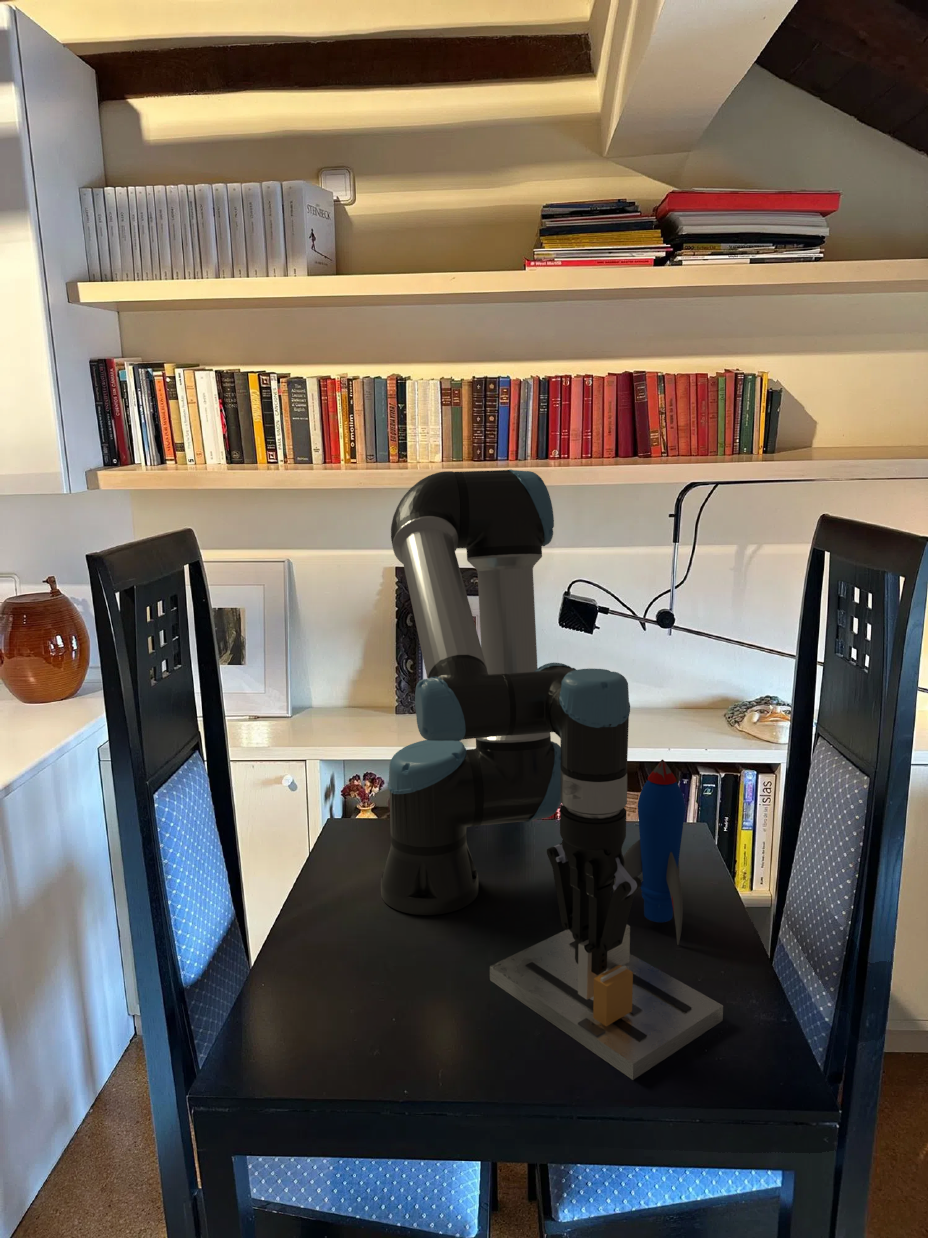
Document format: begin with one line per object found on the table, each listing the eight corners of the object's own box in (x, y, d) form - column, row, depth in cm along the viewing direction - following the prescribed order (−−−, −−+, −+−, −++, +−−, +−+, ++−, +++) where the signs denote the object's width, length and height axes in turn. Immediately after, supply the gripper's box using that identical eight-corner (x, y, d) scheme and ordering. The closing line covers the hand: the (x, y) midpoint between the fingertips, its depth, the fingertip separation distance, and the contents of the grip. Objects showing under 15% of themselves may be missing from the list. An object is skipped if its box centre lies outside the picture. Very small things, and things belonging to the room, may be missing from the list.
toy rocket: (682, 949, 121) (688, 774, 116) (611, 942, 123) (614, 770, 118) (679, 909, 131) (685, 748, 127) (614, 903, 133) (617, 744, 129)
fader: (593, 1018, 102) (593, 975, 101) (619, 1003, 105) (619, 961, 104) (606, 1026, 101) (606, 983, 100) (632, 1011, 103) (633, 969, 102)
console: (489, 980, 114) (489, 926, 113) (577, 937, 124) (577, 887, 123) (632, 1080, 96) (634, 1017, 94) (722, 1020, 106) (725, 962, 104)
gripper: (529, 797, 104) (529, 979, 108) (613, 833, 94) (610, 1033, 98) (575, 781, 108) (573, 957, 113) (659, 814, 98) (654, 1006, 103)
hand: (590, 992), depth 106 cm, fingers closed
